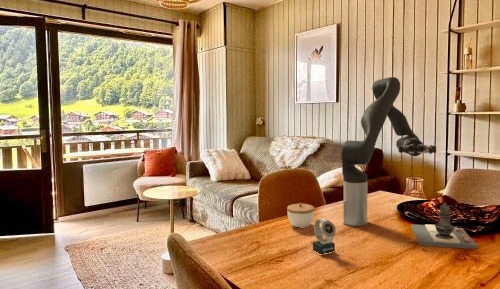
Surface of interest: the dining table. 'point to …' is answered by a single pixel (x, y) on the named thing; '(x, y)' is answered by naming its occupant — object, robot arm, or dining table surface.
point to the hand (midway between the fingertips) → (419, 151)
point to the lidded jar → (300, 214)
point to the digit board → (428, 238)
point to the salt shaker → (444, 223)
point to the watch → (328, 232)
